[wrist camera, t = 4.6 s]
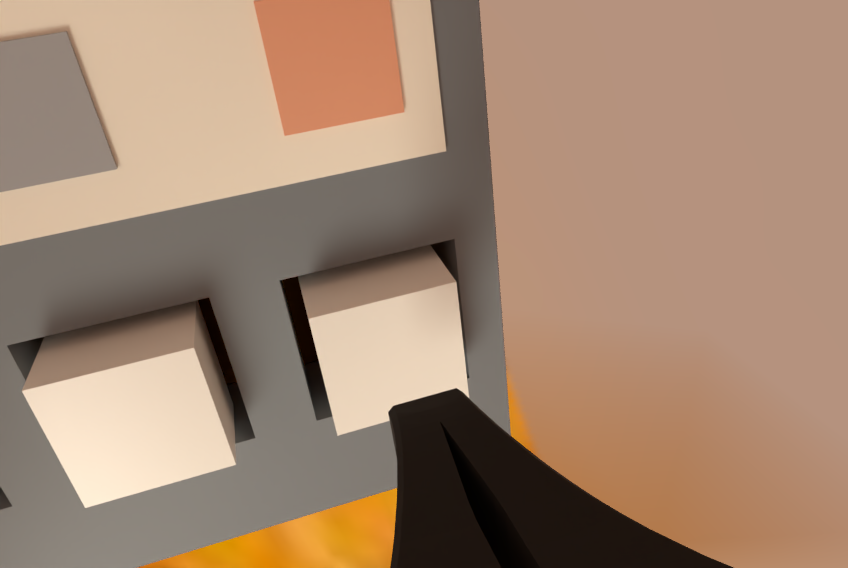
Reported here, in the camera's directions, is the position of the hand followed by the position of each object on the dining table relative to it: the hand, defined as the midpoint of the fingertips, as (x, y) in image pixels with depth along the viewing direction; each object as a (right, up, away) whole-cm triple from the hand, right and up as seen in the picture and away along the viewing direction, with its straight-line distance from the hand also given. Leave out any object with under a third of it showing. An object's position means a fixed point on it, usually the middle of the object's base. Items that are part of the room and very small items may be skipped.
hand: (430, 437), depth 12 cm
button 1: (-1, +2, +4) cm, 5 cm away
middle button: (-7, +1, +3) cm, 7 cm away
